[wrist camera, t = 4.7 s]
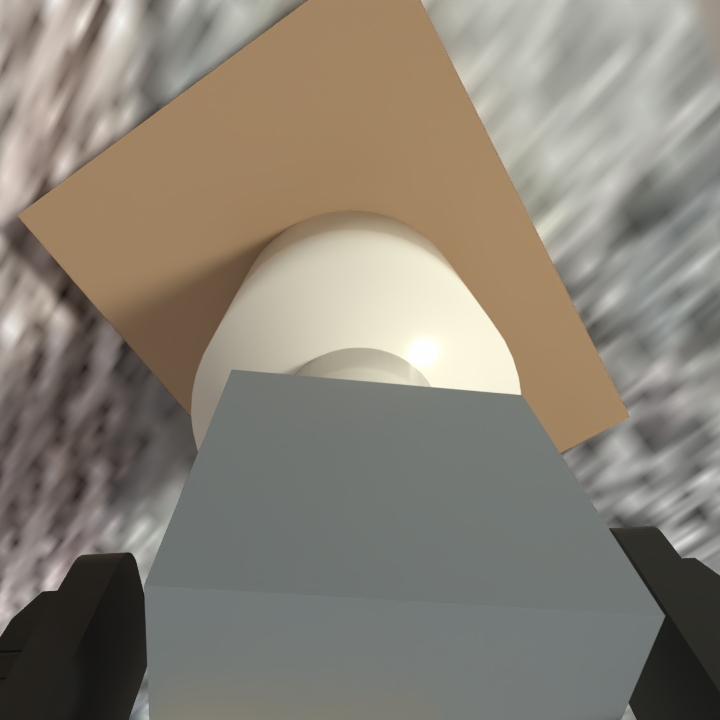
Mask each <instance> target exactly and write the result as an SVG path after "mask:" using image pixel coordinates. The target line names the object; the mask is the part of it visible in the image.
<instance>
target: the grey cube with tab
mask: <svg viewBox="0 0 720 720" xmlns="http://www.w3.org/2000/svg"><path fill="white" fill-rule="evenodd" d="M144 595H145V620H146V644H147V669H148V694H149V719H150V720H621V719H622V716H623V714H624V712H625V709H626V707H627V705H628V702H629V700H630V698H631V695H632V693H633V691H634V688H635V686H636V684H637V681H638V679H639V677H640V674H641V672H642V669H643V667H644V665H645V662H646V660H647V658H648V655H649V653H650V651H651V648H652V646H653V644H654V641H655V639H656V637H657V634H658V632H659V630H660V627H661V625H662V623H663V620H664V618H665V615H664V613H663V612H662V610H661V609H660V607H659V606H658V604H657V603H656V601H655V600H654V598H653V596H652V595H651V593H650V592H649V590H648V589H647V587H646V586H645V584H644V582H643V581H642V579H641V578H640V576H639V575H638V573H637V572H636V570H635V569H634V567H633V565H632V564H631V562H630V561H629V559H628V558H627V556H626V555H625V553H624V552H623V550H622V548H621V547H620V545H619V544H618V542H617V541H616V539H615V538H614V536H613V534H612V533H611V531H610V530H609V528H608V527H607V525H606V524H605V522H604V521H603V519H602V517H601V516H600V514H599V513H598V511H597V510H596V508H595V507H594V505H593V504H592V502H591V500H590V499H589V497H588V496H587V494H586V493H585V491H584V490H583V488H582V486H581V485H580V483H579V482H578V480H577V479H576V477H575V476H574V474H573V473H572V471H571V469H570V468H569V466H568V465H567V463H566V462H565V460H564V459H563V457H562V456H561V454H560V452H559V451H558V449H557V448H556V446H555V445H554V443H553V442H552V440H551V438H550V437H549V435H548V434H547V432H546V431H545V429H544V428H543V426H542V425H541V423H540V421H539V420H538V418H537V417H536V415H535V414H534V412H533V411H532V409H531V408H530V406H529V404H528V403H527V401H526V400H525V398H524V397H523V395H516V394H505V393H493V392H482V391H471V390H459V389H448V388H436V387H425V386H414V385H402V384H391V383H380V382H368V381H357V380H346V379H334V378H323V377H312V376H300V375H289V374H278V373H266V372H255V371H244V370H231V372H230V375H229V377H228V380H227V382H226V385H225V387H224V390H223V392H222V395H221V397H220V400H219V402H218V405H217V407H216V409H215V412H214V414H213V417H212V419H211V422H210V424H209V427H208V429H207V432H206V434H205V437H204V439H203V441H202V444H201V446H200V449H199V451H198V454H197V456H196V459H195V461H194V464H193V466H192V469H191V471H190V474H189V476H188V478H187V481H186V483H185V486H184V488H183V491H182V493H181V496H180V498H179V501H178V503H177V506H176V508H175V510H174V513H173V515H172V518H171V520H170V523H169V525H168V528H167V530H166V533H165V535H164V538H163V540H162V543H161V545H160V547H159V550H158V552H157V555H156V557H155V560H154V562H153V565H152V567H151V570H150V572H149V575H148V577H147V579H146V582H145V584H144Z"/></svg>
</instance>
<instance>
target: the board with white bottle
mask: <svg viewBox="0 0 720 720" xmlns="http://www.w3.org/2000/svg"><path fill="white" fill-rule="evenodd" d="M17 216H18V217H19V218H20V219H21V221H22V222H23V223H24V224H25V225H26V226H27V228H28V229H29V230H30V231H31V232H32V233H33V235H34V236H35V237H36V238H37V239H38V240H39V241H40V243H41V244H42V245H43V246H44V247H45V248H46V250H47V251H48V252H49V253H50V254H51V255H52V257H53V258H54V259H55V260H56V261H57V262H58V263H59V265H60V266H61V267H62V268H63V269H64V270H65V272H66V273H67V274H68V275H69V276H70V277H71V279H72V280H73V281H74V282H75V283H76V284H77V285H78V287H79V288H80V289H81V290H82V291H83V292H84V294H85V295H86V296H87V297H88V298H89V299H90V301H91V302H92V303H93V304H94V305H95V306H96V308H97V309H98V310H99V311H100V312H101V313H102V314H103V316H104V317H105V318H106V319H107V320H108V321H109V323H110V324H111V325H112V326H113V327H114V328H115V330H116V331H117V332H118V333H119V334H120V335H121V336H122V338H123V339H124V340H125V341H126V342H127V343H128V345H129V346H130V347H131V348H132V349H133V350H134V352H135V353H136V354H137V355H138V356H139V357H140V358H141V360H142V361H143V362H144V363H145V364H146V365H147V367H148V368H149V369H150V370H151V371H152V372H153V374H154V375H155V376H156V377H157V378H158V379H159V381H160V382H161V383H162V384H163V385H164V386H165V387H166V389H167V390H168V391H169V392H170V393H171V394H172V396H173V397H174V398H175V399H176V400H177V401H178V403H179V404H180V405H181V406H182V407H183V408H184V409H185V411H186V412H187V413H188V414H189V415H190V416H191V418H192V428H193V434H194V438H195V442H196V446H197V450H198V451H199V449H200V446H201V444H202V441H203V439H204V437H205V434H206V432H207V429H208V427H209V424H210V422H211V419H212V417H213V414H214V412H215V409H216V407H217V405H218V402H219V400H220V397H221V395H222V392H223V390H224V387H225V385H226V382H227V380H228V377H229V375H230V372H231V370H244V371H255V372H266V373H278V374H289V375H300V376H312V377H323V378H334V379H346V380H357V381H368V382H380V383H391V384H402V385H414V386H425V387H436V388H448V389H459V390H471V391H482V392H493V393H505V394H516V395H523V397H524V398H525V400H526V401H527V403H528V404H529V406H530V408H531V409H532V411H533V412H534V414H535V415H536V417H537V418H538V420H539V421H540V423H541V425H542V426H543V428H544V429H545V431H546V432H547V434H548V435H549V437H550V438H551V440H552V442H553V443H554V445H555V446H556V448H557V449H558V451H559V452H560V453H562V452H563V451H565V450H567V449H569V448H571V447H573V446H575V445H577V444H579V443H581V442H583V441H585V440H587V439H589V438H590V437H592V436H594V435H596V434H598V433H600V432H602V431H604V430H606V429H608V428H610V427H612V426H614V425H615V424H617V423H619V422H621V421H623V420H625V419H627V418H629V417H630V416H629V414H628V412H627V410H626V408H625V406H624V404H623V402H622V400H621V398H620V396H619V394H618V392H617V390H616V388H615V386H614V384H613V382H612V380H611V378H610V376H609V374H608V372H607V370H606V368H605V366H604V365H603V363H602V361H601V359H600V357H599V355H598V353H597V351H596V349H595V347H594V345H593V343H592V341H591V339H590V337H589V335H588V333H587V331H586V329H585V327H584V325H583V323H582V321H581V319H580V317H579V315H578V313H577V311H576V309H575V307H574V305H573V303H572V301H571V299H570V297H569V295H568V293H567V291H566V289H565V287H564V285H563V283H562V281H561V279H560V277H559V275H558V273H557V271H556V269H555V267H554V265H553V263H552V261H551V259H550V257H549V255H548V253H547V251H546V249H545V247H544V245H543V243H542V241H541V239H540V237H539V235H538V233H537V231H536V229H535V227H534V225H533V223H532V221H531V219H530V217H529V215H528V213H527V211H526V209H525V207H524V205H523V203H522V201H521V199H520V197H519V195H518V193H517V191H516V189H515V187H514V185H513V183H512V181H511V179H510V177H509V175H508V173H507V171H506V169H505V168H504V166H503V164H502V162H501V160H500V158H499V156H498V154H497V152H496V150H495V148H494V146H493V144H492V142H491V140H490V138H489V136H488V134H487V132H486V130H485V128H484V126H483V124H482V122H481V120H480V118H479V116H478V114H477V112H476V110H475V108H474V106H473V104H472V102H471V100H470V98H469V96H468V94H467V92H466V90H465V88H464V86H463V84H462V82H461V80H460V78H459V76H458V74H457V72H456V70H455V68H454V66H453V64H452V62H451V60H450V58H449V56H448V54H447V52H446V50H445V48H444V46H443V44H442V42H441V40H440V38H439V36H438V34H437V32H436V30H435V28H434V26H433V24H432V22H431V20H430V18H429V16H428V14H427V12H426V10H425V8H424V6H423V4H422V2H421V0H308V1H306V2H305V3H303V4H302V5H301V6H299V7H298V8H297V9H295V10H294V11H293V12H291V13H290V14H289V15H287V16H286V17H285V18H283V19H282V20H281V21H279V22H278V23H276V24H275V25H274V26H272V27H271V28H270V29H268V30H267V31H266V32H264V33H263V34H262V35H260V36H259V37H258V38H256V39H255V40H254V41H252V42H251V43H249V44H248V45H247V46H245V47H244V48H243V49H241V50H240V51H239V52H237V53H236V54H235V55H233V56H232V57H231V58H229V59H228V60H227V61H225V62H224V63H222V64H221V65H220V66H218V67H217V68H216V69H214V70H213V71H212V72H210V73H209V74H208V75H206V76H205V77H204V78H202V79H201V80H200V81H198V82H197V83H195V84H194V85H193V86H191V87H190V88H189V89H187V90H186V91H185V92H183V93H182V94H181V95H179V96H178V97H177V98H175V99H174V100H173V101H171V102H170V103H168V104H167V105H166V106H164V107H163V108H162V109H160V110H159V111H158V112H156V113H155V114H154V115H152V116H151V117H150V118H148V119H147V120H146V121H144V122H143V123H141V124H140V125H139V126H137V127H136V128H135V129H133V130H132V131H131V132H129V133H128V134H127V135H125V136H124V137H123V138H121V139H120V140H119V141H117V142H116V143H114V144H113V145H112V146H110V147H109V148H108V149H106V150H105V151H104V152H102V153H101V154H100V155H98V156H97V157H96V158H94V159H93V160H92V161H90V162H89V163H87V164H86V165H85V166H83V167H82V168H81V169H79V170H78V171H77V172H75V173H74V174H73V175H71V176H70V177H69V178H67V179H66V180H65V181H63V182H62V183H60V184H59V185H58V186H56V187H55V188H54V189H52V190H51V191H50V192H48V193H47V194H46V195H44V196H43V197H42V198H40V199H39V200H38V201H36V202H35V203H33V204H32V205H31V206H29V207H28V208H27V209H25V210H24V211H23V212H21V213H20V214H19V215H17Z"/></svg>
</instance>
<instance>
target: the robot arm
mask: <svg viewBox="0 0 720 720" xmlns="http://www.w3.org/2000/svg"><path fill="white" fill-rule="evenodd" d="M609 530H610V531H611V533H612V534H613V536H614V538H615V539H616V541H617V542H618V544H619V545H620V547H621V548H622V550H623V552H624V553H625V555H626V556H627V558H628V559H629V561H630V562H631V564H632V565H633V567H634V569H635V570H636V572H637V573H638V575H639V576H640V578H641V579H642V581H643V582H644V584H645V586H646V587H647V589H648V590H649V592H650V593H651V595H652V596H653V598H654V600H655V601H656V603H657V604H658V606H659V607H660V609H661V610H662V612H663V613H664V615H665V618H664V620H663V623H662V625H661V627H660V630H659V632H658V634H657V637H656V639H655V641H654V644H653V646H652V648H651V651H650V653H649V655H648V658H647V660H646V662H645V665H644V667H643V669H642V672H641V674H640V677H639V679H638V681H637V684H636V686H635V688H634V691H633V693H632V695H631V698H630V700H629V702H628V703H629V705H630V707H631V709H632V711H633V713H634V715H635V717H636V719H637V720H720V575H718V574H717V573H715V572H714V571H713V570H711V569H710V568H708V567H707V566H706V565H704V564H703V563H701V562H700V561H699V560H697V559H696V558H683V559H682V558H681V557H680V556H679V554H678V553H677V552H676V550H675V549H674V548H673V546H672V545H671V544H670V542H669V541H668V540H667V539H666V537H665V536H664V535H663V533H662V532H661V531H660V530H659V529H657V528H656V527H654V526H644V527H626V528H609ZM146 668H147V644H146V620H145V596H144V592H143V588H142V584H141V579H140V575H139V571H138V567H137V563H136V560H135V558H134V556H133V554H131V553H109V554H90V555H81V556H80V557H78V558H77V559H76V560H75V562H74V563H73V565H72V567H71V568H70V570H69V572H68V573H67V575H66V577H65V579H64V580H63V582H62V584H61V585H60V587H59V589H58V591H43V592H42V593H40V594H39V595H38V596H37V597H36V598H35V599H34V600H33V601H32V602H30V603H29V604H28V605H27V606H26V607H25V608H24V609H23V610H21V611H20V612H19V613H18V614H17V615H16V616H15V617H14V618H13V619H12V620H11V621H10V623H9V624H8V626H7V627H6V629H5V630H4V632H3V634H2V635H1V637H0V720H129V717H130V714H131V711H132V708H133V705H134V703H135V700H136V697H137V694H138V691H139V688H140V685H141V682H142V679H143V677H144V674H145V671H146Z"/></svg>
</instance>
